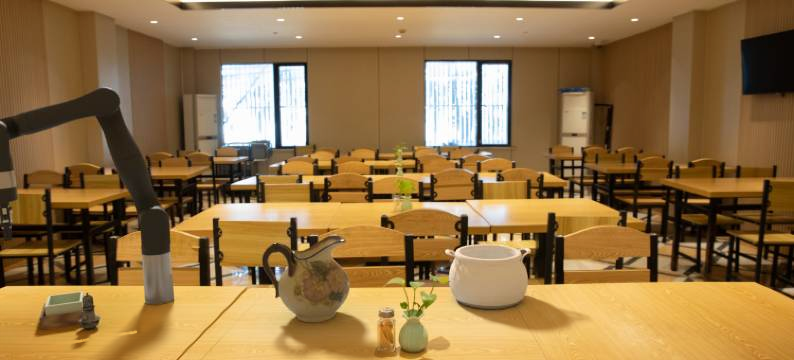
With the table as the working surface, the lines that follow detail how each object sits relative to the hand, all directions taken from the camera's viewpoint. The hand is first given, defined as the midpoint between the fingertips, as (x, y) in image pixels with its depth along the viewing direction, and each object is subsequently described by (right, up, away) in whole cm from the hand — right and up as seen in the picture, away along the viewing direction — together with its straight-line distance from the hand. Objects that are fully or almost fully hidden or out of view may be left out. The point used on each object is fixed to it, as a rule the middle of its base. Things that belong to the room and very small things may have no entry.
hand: (8, 238), depth 186 cm
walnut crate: (+15, -27, +5) cm, 31 cm away
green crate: (+15, -26, +5) cm, 30 cm away
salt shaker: (+27, -28, -3) cm, 39 cm away
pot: (+151, -23, +20) cm, 154 cm away
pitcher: (+94, -26, +6) cm, 97 cm away
